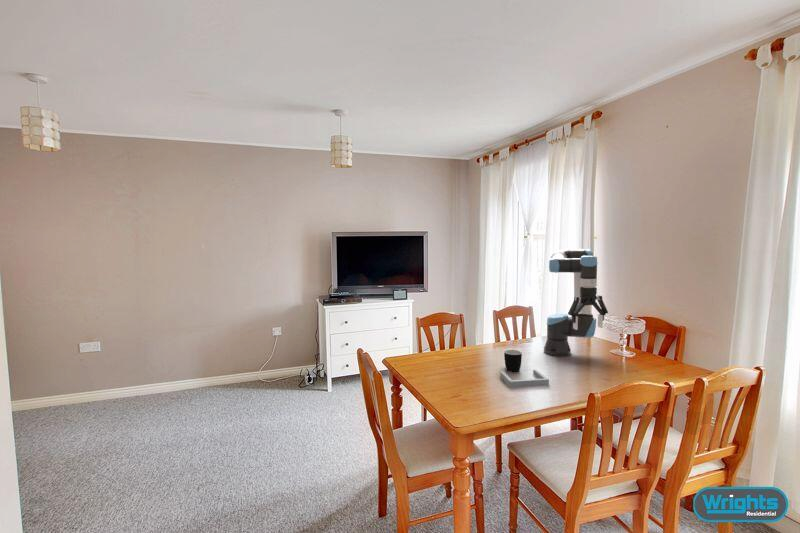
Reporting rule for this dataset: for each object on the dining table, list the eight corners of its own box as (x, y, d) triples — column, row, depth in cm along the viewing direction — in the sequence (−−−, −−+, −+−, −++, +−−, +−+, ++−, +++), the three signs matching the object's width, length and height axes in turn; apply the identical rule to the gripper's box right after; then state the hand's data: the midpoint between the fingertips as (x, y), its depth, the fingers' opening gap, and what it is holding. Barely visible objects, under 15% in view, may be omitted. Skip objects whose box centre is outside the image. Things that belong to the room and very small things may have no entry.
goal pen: (500, 377, 194) (500, 371, 194) (536, 374, 196) (536, 369, 195) (510, 387, 180) (510, 381, 180) (548, 385, 182) (548, 379, 181)
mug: (525, 372, 200) (525, 353, 199) (510, 374, 197) (510, 355, 196) (512, 365, 211) (512, 347, 210) (497, 367, 209) (497, 349, 208)
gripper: (569, 289, 184) (569, 331, 186) (616, 286, 188) (615, 328, 190) (560, 286, 192) (560, 327, 194) (606, 284, 195) (605, 324, 197)
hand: (587, 328), depth 192 cm, fingers open, 13 cm apart
